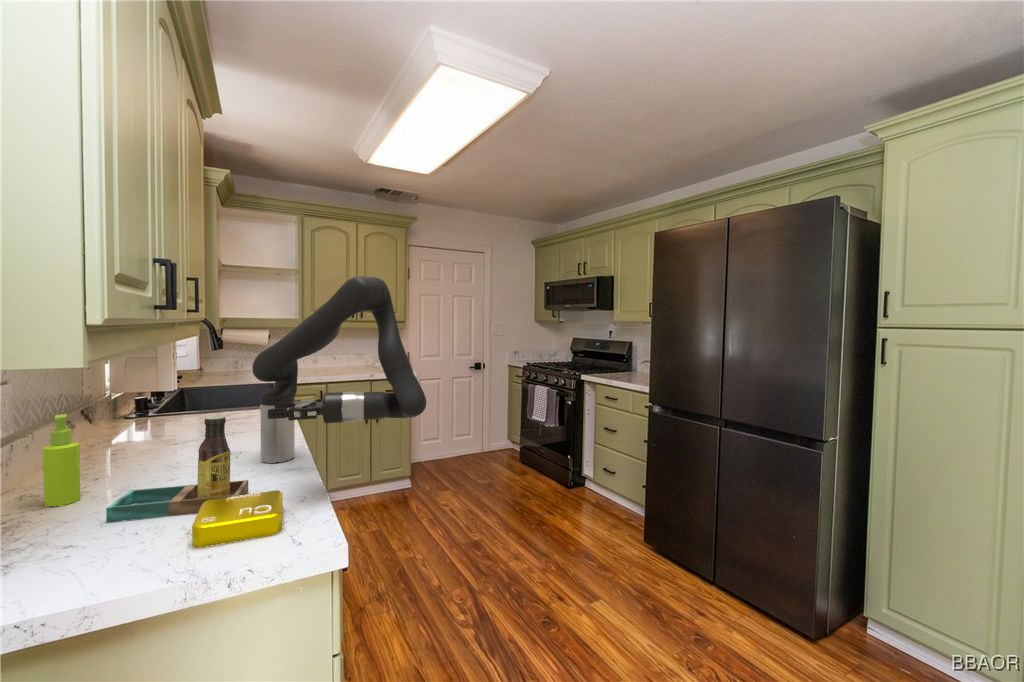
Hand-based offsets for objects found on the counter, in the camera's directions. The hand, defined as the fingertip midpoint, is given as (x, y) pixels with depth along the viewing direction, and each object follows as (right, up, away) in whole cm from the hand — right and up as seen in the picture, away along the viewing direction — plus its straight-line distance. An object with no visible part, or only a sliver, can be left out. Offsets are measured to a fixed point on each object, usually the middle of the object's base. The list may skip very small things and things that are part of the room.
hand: (271, 410), depth 106 cm
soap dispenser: (-46, -21, -3) cm, 51 cm away
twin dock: (-17, -21, -5) cm, 27 cm away
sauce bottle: (-12, -21, -3) cm, 24 cm away
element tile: (+1, -22, -14) cm, 26 cm away
